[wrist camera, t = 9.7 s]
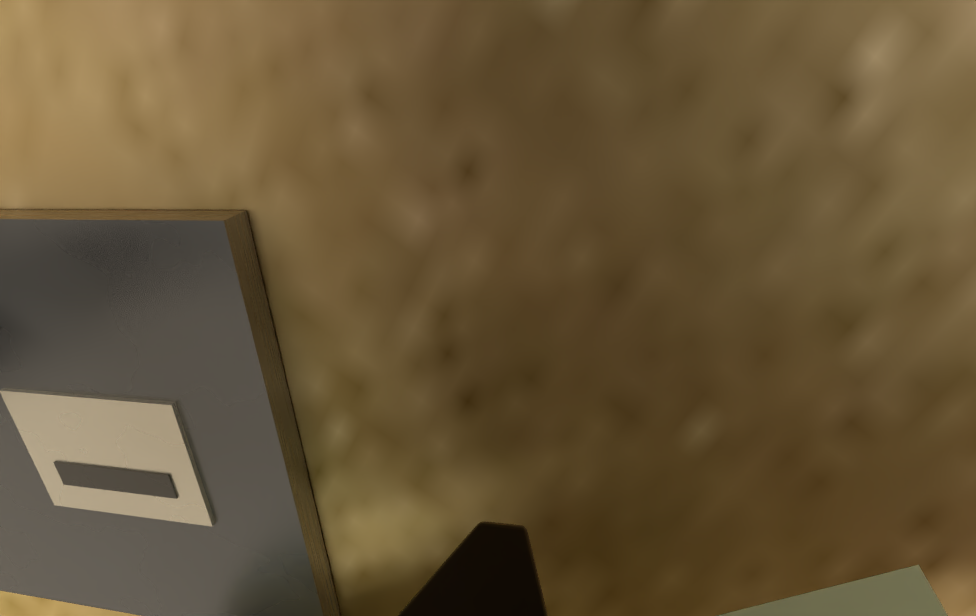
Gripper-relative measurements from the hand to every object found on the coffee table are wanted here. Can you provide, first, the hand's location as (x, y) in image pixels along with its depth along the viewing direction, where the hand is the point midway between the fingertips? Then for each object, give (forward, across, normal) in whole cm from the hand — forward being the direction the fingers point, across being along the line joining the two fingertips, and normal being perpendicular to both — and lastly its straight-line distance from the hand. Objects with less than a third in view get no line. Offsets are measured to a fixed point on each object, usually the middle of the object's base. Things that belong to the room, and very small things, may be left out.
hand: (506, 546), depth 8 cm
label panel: (+3, +13, +4) cm, 13 cm away
